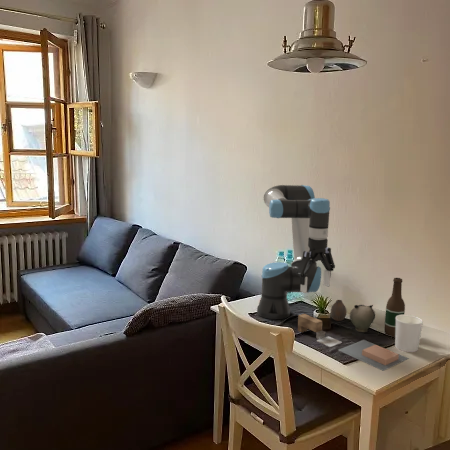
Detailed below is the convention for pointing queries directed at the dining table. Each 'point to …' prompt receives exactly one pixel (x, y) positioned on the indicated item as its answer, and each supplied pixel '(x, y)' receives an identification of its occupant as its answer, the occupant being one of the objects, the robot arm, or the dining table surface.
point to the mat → (356, 352)
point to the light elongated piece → (315, 329)
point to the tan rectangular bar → (380, 354)
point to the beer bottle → (394, 308)
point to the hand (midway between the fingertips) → (315, 289)
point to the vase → (338, 311)
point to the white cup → (407, 332)
